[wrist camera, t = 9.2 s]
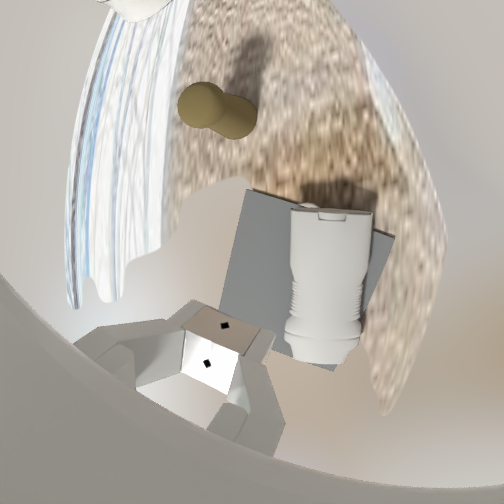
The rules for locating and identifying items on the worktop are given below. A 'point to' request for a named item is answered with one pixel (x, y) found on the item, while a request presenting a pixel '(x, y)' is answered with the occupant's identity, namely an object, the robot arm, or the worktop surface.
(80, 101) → the worktop surface
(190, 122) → the cork
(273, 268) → the mat
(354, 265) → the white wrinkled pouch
